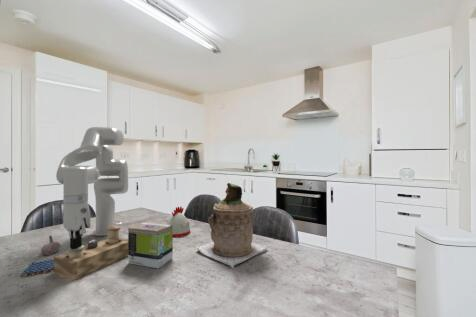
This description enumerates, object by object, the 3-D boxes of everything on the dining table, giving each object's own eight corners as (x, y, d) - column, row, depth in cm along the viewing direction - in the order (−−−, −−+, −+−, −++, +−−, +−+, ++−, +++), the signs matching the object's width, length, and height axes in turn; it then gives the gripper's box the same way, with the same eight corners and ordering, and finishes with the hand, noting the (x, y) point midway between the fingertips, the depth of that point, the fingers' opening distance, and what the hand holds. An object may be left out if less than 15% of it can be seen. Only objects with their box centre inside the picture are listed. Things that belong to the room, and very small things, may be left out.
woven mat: (31, 266, 88) (31, 261, 88) (64, 261, 93) (64, 256, 93) (18, 279, 79) (18, 273, 79) (54, 273, 83) (54, 268, 83)
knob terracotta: (115, 242, 100) (115, 225, 100) (122, 244, 98) (122, 226, 98) (104, 246, 96) (104, 228, 96) (111, 248, 94) (111, 230, 94)
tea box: (173, 258, 94) (173, 224, 94) (157, 269, 84) (157, 231, 85) (145, 253, 99) (145, 220, 99) (127, 263, 89) (127, 227, 89)
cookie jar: (269, 250, 102) (269, 181, 102) (232, 270, 84) (231, 186, 84) (231, 237, 119) (231, 178, 119) (193, 251, 101) (193, 182, 101)
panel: (114, 249, 104) (114, 236, 104) (131, 254, 98) (131, 240, 98) (53, 273, 82) (53, 257, 82) (71, 280, 77) (71, 263, 77)
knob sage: (79, 263, 87) (79, 244, 87) (86, 266, 85) (86, 246, 85) (65, 269, 82) (65, 248, 82) (72, 272, 80) (72, 250, 80)
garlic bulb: (48, 257, 96) (48, 238, 96) (35, 255, 97) (35, 237, 97) (65, 250, 103) (65, 233, 103) (52, 248, 105) (52, 232, 105)
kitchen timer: (195, 231, 129) (194, 206, 129) (176, 239, 117) (176, 210, 117) (178, 227, 136) (178, 203, 136) (159, 234, 125) (159, 207, 125)
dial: (91, 245, 93) (91, 238, 93) (99, 245, 93) (99, 239, 93) (85, 248, 90) (85, 242, 90) (93, 249, 89) (93, 242, 89)
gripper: (98, 199, 84) (98, 247, 83) (75, 196, 90) (75, 241, 90) (76, 202, 77) (76, 255, 77) (53, 199, 83) (53, 247, 83)
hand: (75, 247), depth 83 cm, fingers closed
